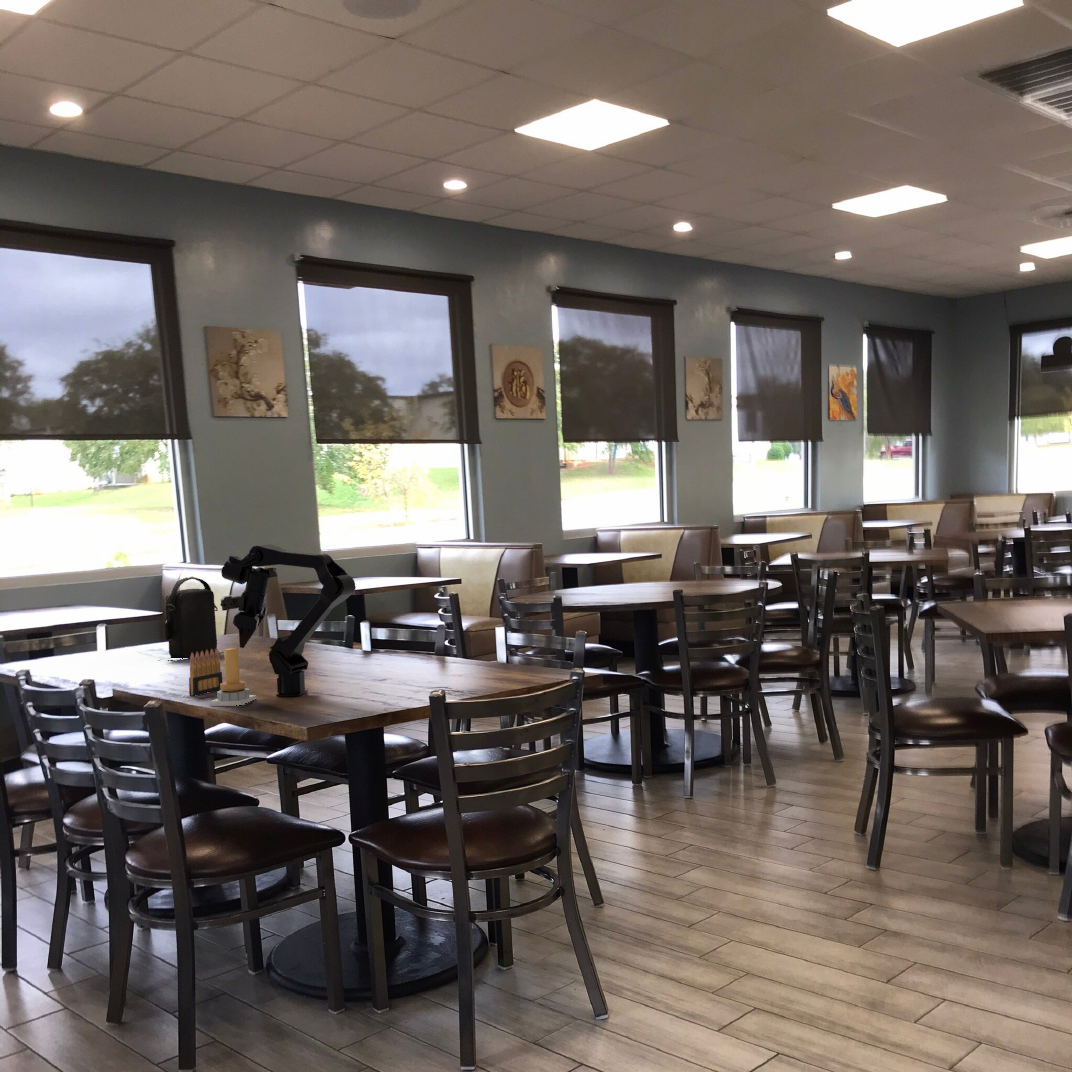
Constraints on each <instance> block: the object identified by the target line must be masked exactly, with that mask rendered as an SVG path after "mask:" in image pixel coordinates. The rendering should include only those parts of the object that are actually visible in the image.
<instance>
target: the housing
mask: <svg viewBox="0 0 1072 1072" xmlns="http://www.w3.org/2000/svg"><path fill="white" fill-rule="evenodd" d="M216 694H217V697H216V698H215V699H213V700H210V701H209V702H210V703H209V705H210V707H240V706H239V705H242V706H244V705H246V704H245V703H247V704H249V703H251V702H250V701H252V700H254V699H256V700H257V695H256V694H250V688H248V687H246V688H245V689H242V690H240V691H239V692H231V693H226V691H222V690H219V691H216ZM254 701H255V700H254ZM248 702H249V703H248ZM252 702H253V701H252ZM236 705H237V706H236Z"/></svg>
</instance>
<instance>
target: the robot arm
mask: <svg viewBox="0 0 1072 1072" xmlns="http://www.w3.org/2000/svg"><path fill="white" fill-rule="evenodd" d="M277 565H282V566H291V567H300V568H307V569H314V570H315V572H316V574H317V578H318V581H319V582H320V584H321V585H322V587H321V589H320V593H319V597H318V600H317V601H316V602H315V603H314V605H313V606H312V607H311V609H310V610H309V611H308V612H307V613H306V615H305V616H304V617H303V618H302V620H301V621H300V622H299V623H298V625H296V627H295V629H293V631H292V632H291V633H290V634H287V635H283V636H279V637H277V639H276V640H275V642H274V644H273V645H272V646H269V649H270V650H269V652H268V655H267V656H268V660H269V663H270V665H271V666H272V669H273V672H274V675H277V678H276V690H277V693H276V697H300V696H302V695H305V694H307V693H308V690H306V684H305V683H306V682H305V680H306V679H305V671H307V670H308V666H309V661H308V660H307V659H306V658H305V657H304V655H303V653H304V650H305V644H306V643H307V642H308V641H309V639H310V638H311V636H312V635H313V634H314V633H315V631H317V629H318V628H319V627H320V625H322V624H323V622H324V621H325V619H326V618H327V617H328V616H329V615H330V613H331V612H332V610H334V608H335V607H337V606H339V605H340V604H342V603H343V602H345V601H346V600H347V599H348V598H349V597H351V596H352V595H353V594H354V593H355V590H356V589H357V588H356V587H357V586H356V583H355V580H354V578H353V577H352V576H351V575H349V573H347V572H346V570H345V569H344V568H343V567H341V566H340V565H339V564H338V563H337V562H335V560H334V559H333V558H332V556H330V554H328V553H320V554H319V553H312V552H311V553H310V552H301V551H292V550H286V549H284V548H282V547H280V546H276V545H274V544H260V545H259V544H258V545H253V546H252V547H251V548H250V549H249V552H248V553H247V555H246V556H245V557H243V558H240V557H238V556H237V555H229V557H228V560H226V561H225V562H224V565H223V566H222V567H221V571H220V572H221V574H220V575H221V577H222V578H223V579H224V580H228V581H231V582H234V583H237V584H239V585H244V584H246V585H245V588H244V590H243V592H241V593H237V594H231V595H224V596H222V597H221V598H220V606H221V610H222V611H225V612H226V611H228V610H234V609H235V610H236V609H237V610H238V612H237V613H236V614H235V615H234V617H233V622H232V624H233V626H234V627H236V628H237V630H238V638H239V648H241V649H244V648H245V647H246V645H247V644H248V642H249V641H250V639H251V638H252V636H253V635H254V633H255V632H256V630H257V629H258V627H259V626H260V625H261V622H262V621H263V619H264V618H265V617H266V614H267V613H268V607H269V606H268V605H267V603H266V602H265V601H266V598H267V595H268V587H269V581H270V579H272V578H277V577H278V574H277V573H276V571H275V570H274V568H273V567H269V566H277ZM267 566H268V567H269V568H264V567H267ZM306 692H307V693H306Z"/></svg>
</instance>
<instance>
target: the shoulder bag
mask: <svg viewBox="0 0 1072 1072" xmlns="http://www.w3.org/2000/svg"><path fill="white" fill-rule="evenodd" d="M189 580H196V581H198V582H199V583H200V584H201V585H203V588H185V589H180V590H179V588H180V587H181V585H184V583H185V582H187V581H189ZM218 611H219V610H218V607H217V605H216V603H215V594H214V592H213V590H212V589H211V586H210V585H209V583H208V582H207V581H205V580H204V579H201V578H200V577H199V578H198V577H194V576H190V577H184V578H181V579H179V580H177V581H176V582H175V583H174V585H173V586H172V590H171V593H168V595H166V596H165V622H164V638H165V641H168V653H169V655H170V658H182V659H183V658H190V657H191V653H192V652H193V654H194V657H195V656H196V652H198V653H199V658H200V654H201V651H203V653H204V657H205V653H206V650H208V653H209V656H210V651H211V649H212V650H213V652H214V654H215V650H216V648H217V649H218V638H217V627H216V625H217V624H216V612H218ZM218 652H219V654H220V653H224V650H218ZM160 660H161V659H157V661H159V662H161V661H160Z"/></svg>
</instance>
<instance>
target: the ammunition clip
mask: <svg viewBox="0 0 1072 1072" xmlns="http://www.w3.org/2000/svg"><path fill="white" fill-rule="evenodd" d="M218 651H219V649H218V647H217V648H216V650H215V653H214V652H213V650H212V649H211V651H210V655H209V653H208V650H206V653H205V656H204V653H203V651H201V654H200V657H199V653H198V652H196V656H195V658H194V654H193V652H192V653H191V657H190V659H189V662H190V665H189V677H188V681H189V683H188V684H189V685H188V689H189V694H188V695H190V697H196V696H195V695H198V696H201V695H200V694H202V695H205V694H204V693H207V692H211V693H213V692H212V691H215V692H217V690H221V689H220V684H221V683H223V682H224V681H223V672H222V671H221V661H220V660H221V659H220V653H219V652H218ZM207 694H208V693H207Z"/></svg>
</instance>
